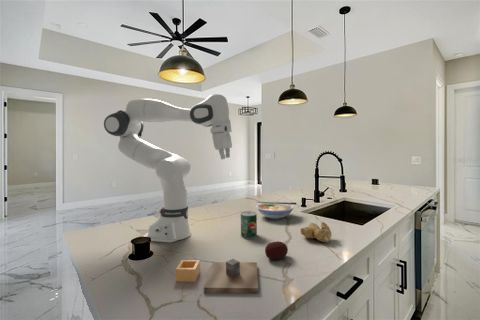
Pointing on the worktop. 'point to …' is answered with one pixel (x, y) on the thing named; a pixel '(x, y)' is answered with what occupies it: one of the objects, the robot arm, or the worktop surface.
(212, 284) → the base plate
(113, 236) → the worktop surface
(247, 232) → the canned tomato
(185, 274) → the orange square tube
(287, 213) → the ramen bowl
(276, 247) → the potato
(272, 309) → the worktop surface
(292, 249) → the worktop surface
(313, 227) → the ginger root
